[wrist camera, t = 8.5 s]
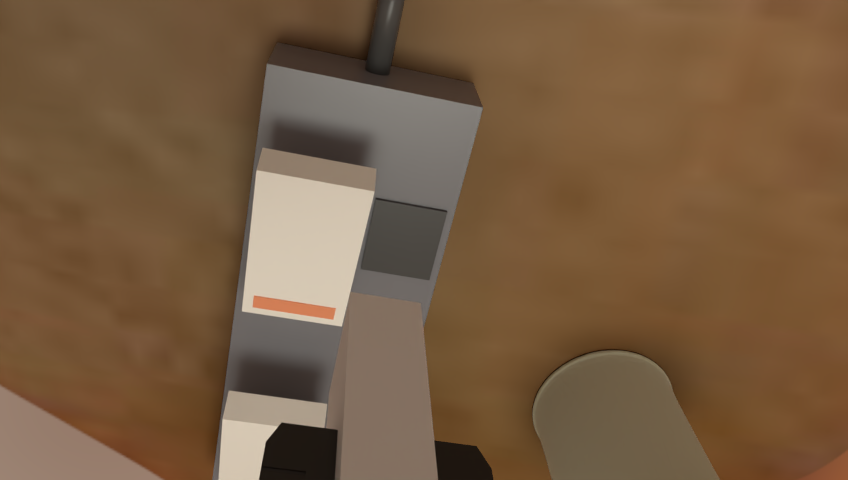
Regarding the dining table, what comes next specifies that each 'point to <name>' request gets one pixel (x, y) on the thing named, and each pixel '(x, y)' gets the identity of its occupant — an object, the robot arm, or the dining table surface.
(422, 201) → the rocker switch panel
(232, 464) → the small box
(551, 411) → the can
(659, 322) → the dining table surface
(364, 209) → the block
